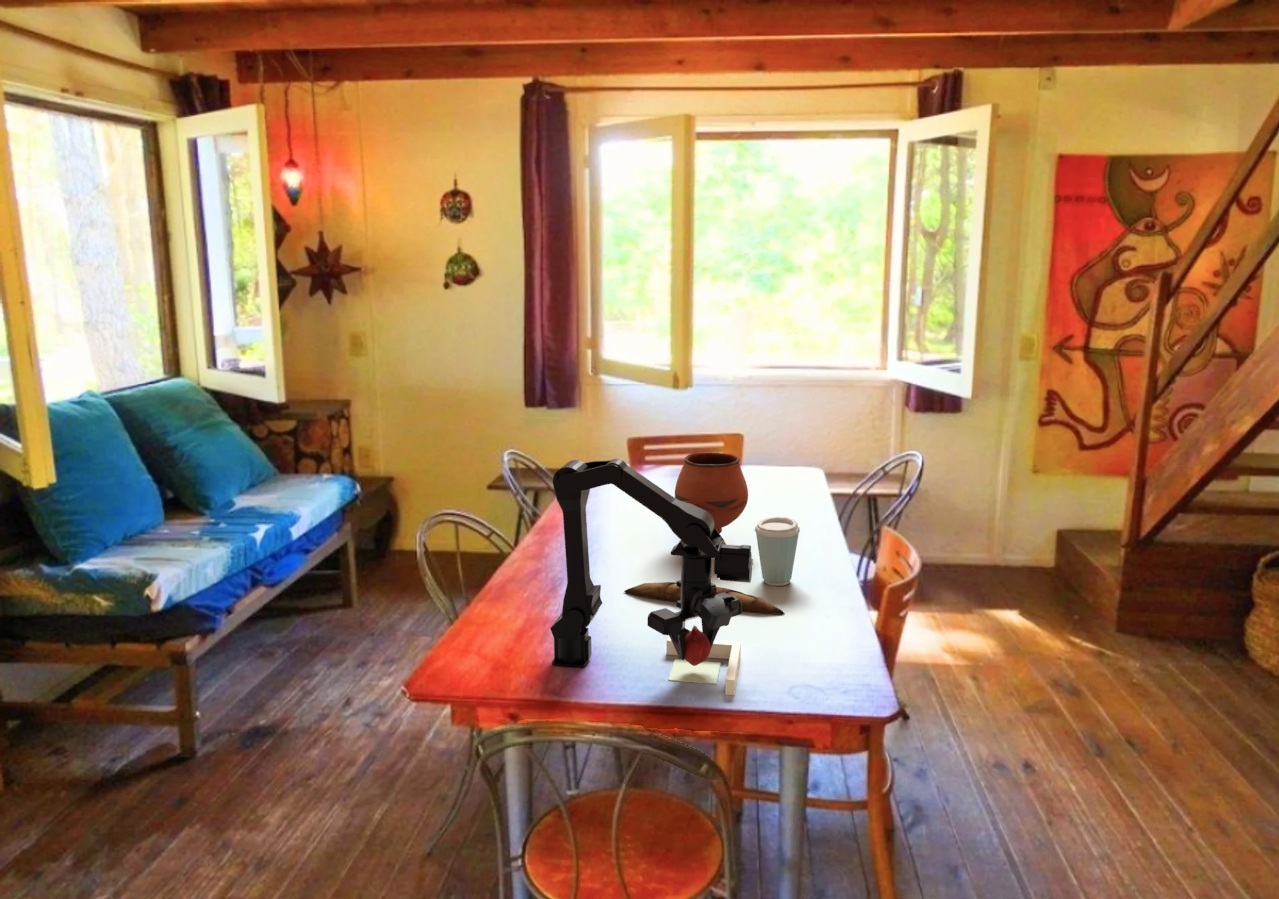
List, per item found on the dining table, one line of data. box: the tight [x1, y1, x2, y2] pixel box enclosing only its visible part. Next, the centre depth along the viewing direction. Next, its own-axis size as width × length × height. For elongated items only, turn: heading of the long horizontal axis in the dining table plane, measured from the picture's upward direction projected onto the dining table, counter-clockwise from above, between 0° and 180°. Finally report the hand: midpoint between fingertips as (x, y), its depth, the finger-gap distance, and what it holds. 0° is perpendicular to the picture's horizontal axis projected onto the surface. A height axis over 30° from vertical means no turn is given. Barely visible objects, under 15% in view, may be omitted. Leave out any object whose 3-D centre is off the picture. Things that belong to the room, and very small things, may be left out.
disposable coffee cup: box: [754, 516, 801, 587], centre depth 228 cm, size 11×11×15 cm
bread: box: [624, 581, 785, 615], centre depth 215 cm, size 38×5×5 cm, turn 70°
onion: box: [684, 625, 711, 666], centre depth 181 cm, size 6×6×8 cm
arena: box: [665, 636, 742, 696], centre depth 181 cm, size 15×17×3 cm
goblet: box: [674, 452, 749, 545], centre depth 251 cm, size 19×19×25 cm
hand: (694, 655), depth 181 cm, fingers closed on onion, 6 cm apart
